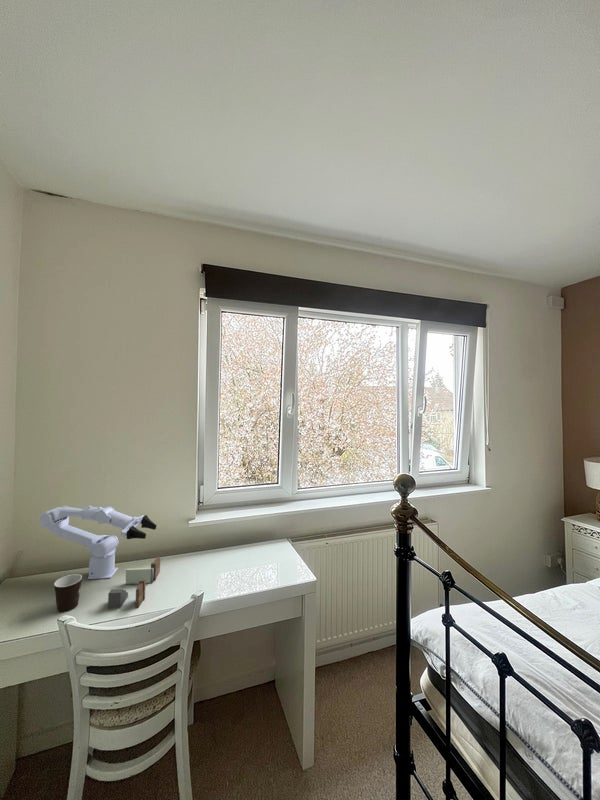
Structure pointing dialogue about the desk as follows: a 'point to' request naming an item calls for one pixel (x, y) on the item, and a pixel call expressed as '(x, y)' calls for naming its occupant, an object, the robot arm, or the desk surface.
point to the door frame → (141, 587)
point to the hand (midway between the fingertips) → (150, 531)
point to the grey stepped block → (116, 598)
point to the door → (139, 575)
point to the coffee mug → (67, 592)
